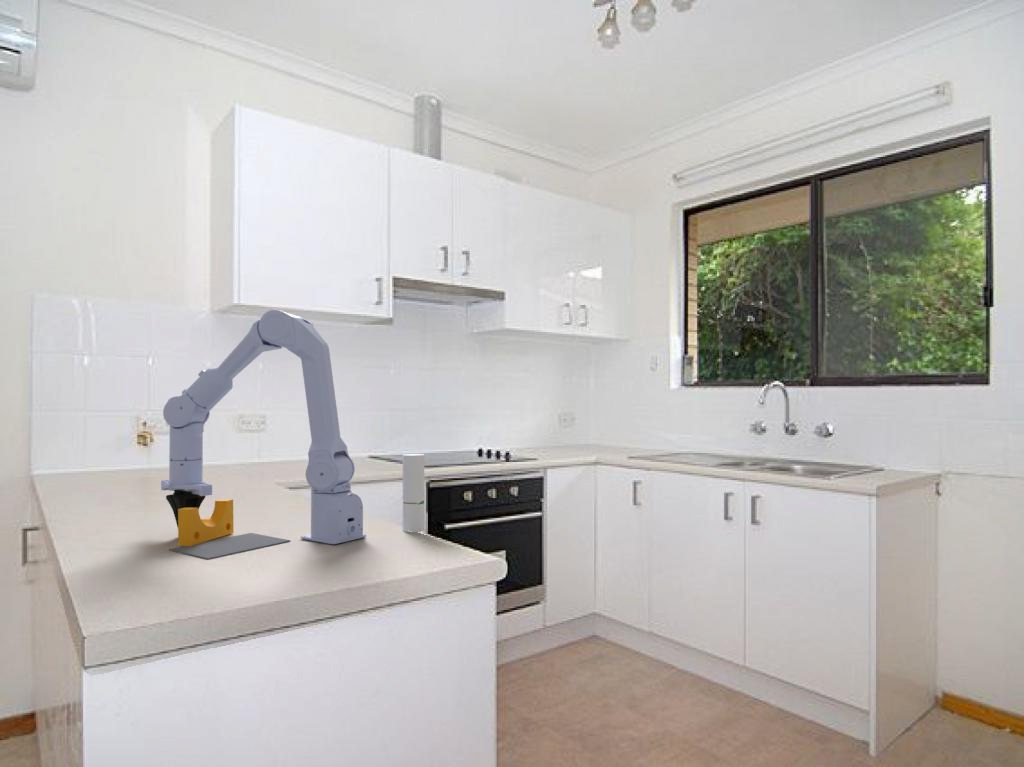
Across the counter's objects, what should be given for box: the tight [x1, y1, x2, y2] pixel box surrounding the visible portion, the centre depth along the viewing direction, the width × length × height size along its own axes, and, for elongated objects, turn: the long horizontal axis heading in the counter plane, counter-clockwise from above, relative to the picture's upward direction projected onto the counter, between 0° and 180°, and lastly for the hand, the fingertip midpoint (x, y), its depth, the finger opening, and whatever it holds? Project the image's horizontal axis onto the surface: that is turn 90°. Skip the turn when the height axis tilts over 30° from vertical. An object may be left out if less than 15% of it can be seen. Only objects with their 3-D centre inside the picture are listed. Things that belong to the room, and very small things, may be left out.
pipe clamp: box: [177, 499, 234, 547], centre depth 121 cm, size 12×4×6 cm, turn 168°
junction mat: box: [168, 532, 291, 560], centre depth 115 cm, size 12×16×1 cm
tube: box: [402, 453, 425, 533], centre depth 129 cm, size 4×4×15 cm
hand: (185, 530), depth 124 cm, fingers closed
